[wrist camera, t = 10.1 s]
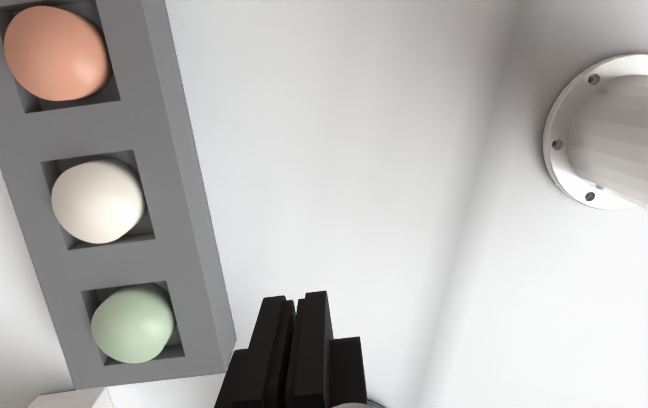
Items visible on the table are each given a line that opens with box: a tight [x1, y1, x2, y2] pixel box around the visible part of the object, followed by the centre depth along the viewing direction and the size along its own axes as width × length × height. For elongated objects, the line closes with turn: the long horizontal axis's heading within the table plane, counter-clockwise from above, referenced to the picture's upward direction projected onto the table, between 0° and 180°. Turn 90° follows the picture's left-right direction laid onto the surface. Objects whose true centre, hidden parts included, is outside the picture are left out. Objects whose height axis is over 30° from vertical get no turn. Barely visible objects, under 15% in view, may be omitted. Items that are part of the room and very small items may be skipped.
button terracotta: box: [4, 6, 113, 101], centre depth 31 cm, size 6×6×3 cm
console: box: [0, 0, 236, 390], centre depth 35 cm, size 13×32×5 cm, turn 8°
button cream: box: [51, 158, 148, 244], centre depth 33 cm, size 6×6×3 cm
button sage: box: [91, 283, 177, 363], centre depth 36 cm, size 6×6×3 cm
